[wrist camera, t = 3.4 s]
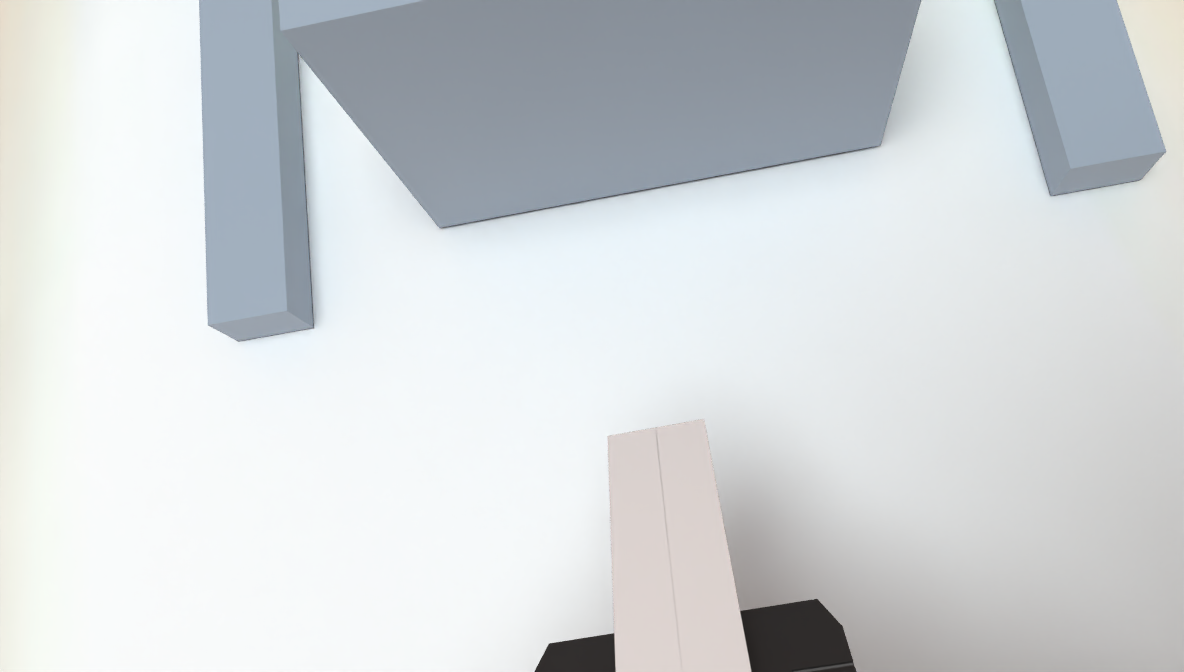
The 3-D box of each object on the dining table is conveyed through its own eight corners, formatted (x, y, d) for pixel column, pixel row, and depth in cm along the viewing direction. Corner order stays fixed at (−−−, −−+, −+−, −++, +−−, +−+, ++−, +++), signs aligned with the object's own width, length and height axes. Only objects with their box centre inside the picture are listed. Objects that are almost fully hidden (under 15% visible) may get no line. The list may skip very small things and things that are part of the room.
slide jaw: (854, 35, 25) (925, -357, 15) (880, 145, 24) (975, -191, 14) (428, 120, 26) (226, -189, 16) (439, 228, 25) (233, -28, 15)
